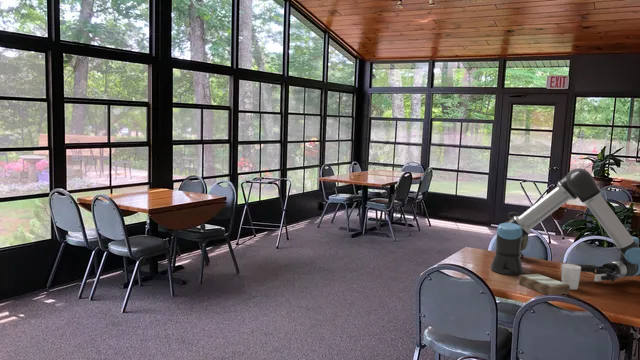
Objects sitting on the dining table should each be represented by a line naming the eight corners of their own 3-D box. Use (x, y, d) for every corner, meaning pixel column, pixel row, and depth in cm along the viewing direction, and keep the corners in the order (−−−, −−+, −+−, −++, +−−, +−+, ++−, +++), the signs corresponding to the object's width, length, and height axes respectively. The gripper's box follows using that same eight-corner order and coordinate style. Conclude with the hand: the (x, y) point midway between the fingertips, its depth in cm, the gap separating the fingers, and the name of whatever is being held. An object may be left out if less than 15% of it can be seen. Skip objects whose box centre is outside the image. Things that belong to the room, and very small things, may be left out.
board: (518, 284, 238) (519, 274, 238) (536, 281, 243) (537, 273, 242) (550, 296, 222) (551, 286, 221) (569, 294, 226) (569, 284, 226)
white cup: (581, 290, 232) (583, 269, 231) (562, 289, 233) (564, 267, 232) (576, 285, 239) (578, 264, 238) (558, 284, 241) (559, 263, 240)
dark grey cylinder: (526, 257, 290) (530, 213, 287) (521, 260, 283) (525, 215, 280) (500, 252, 299) (504, 209, 296) (495, 255, 292) (498, 211, 289)
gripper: (637, 285, 236) (605, 290, 227) (589, 270, 258) (558, 274, 249) (639, 269, 235) (607, 273, 226) (591, 256, 257) (560, 259, 249)
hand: (581, 274), depth 238 cm, fingers open, 13 cm apart
